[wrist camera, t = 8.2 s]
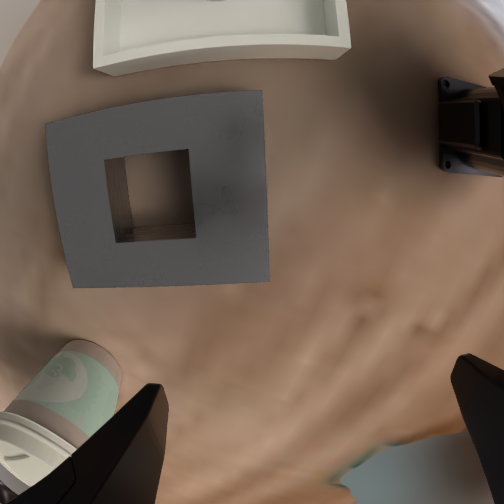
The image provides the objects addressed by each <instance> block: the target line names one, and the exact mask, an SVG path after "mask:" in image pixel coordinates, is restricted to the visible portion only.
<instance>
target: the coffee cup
mask: <svg viewBox="0 0 504 504" xmlns="http://www.w3.org/2000/svg"><path fill="white" fill-rule="evenodd" d="M121 382H122V372H121V369H120V366H119V365H118V363H117V361H116V360H115V359H114V358H113V356H112V355H111V354H110V353H108V352H107V351H106V350H105V349H103V348H102V347H100V346H99V345H97V344H95V343H92V342H89V341H86V340H73V341H70V342H68V343H67V344H66V345H65V346H64V347H63V348H62V349H61V350H60V351H59V352H58V353H57V354H56V355H55V356H54V357H53V358H52V359H51V360H50V361H49V362H48V363H47V364H46V366H45V367H44V368H43V369H42V370H41V371H40V372H39V373H38V374H37V375H36V376H35V377H34V378H33V379H32V380H31V382H30V383H29V384H28V385H27V386H26V387H25V388H24V389H23V390H22V391H21V392H20V394H19V395H18V396H17V397H16V398H15V399H14V400H13V401H12V403H11V404H10V405H9V406H8V407H7V408H6V409H5V411H4V412H0V463H1V464H2V465H3V466H4V467H5V468H6V469H7V470H9V471H10V472H11V473H12V474H13V475H14V476H16V477H17V478H18V479H20V480H21V481H22V482H24V483H25V484H27V485H28V486H30V487H31V486H33V485H34V484H36V483H37V482H39V481H40V480H41V479H43V478H44V477H45V476H47V475H48V474H49V473H51V472H52V471H53V470H54V469H55V468H56V467H58V466H59V465H60V464H61V463H62V462H63V461H64V460H66V459H67V458H68V457H69V456H71V454H72V453H73V452H74V451H76V450H77V449H78V448H79V447H80V446H81V445H82V444H83V443H84V442H85V441H86V440H88V439H89V438H90V437H91V436H92V435H93V434H94V433H95V432H96V431H97V430H98V429H99V428H101V427H102V426H103V425H104V424H105V423H106V422H107V421H108V420H109V419H110V418H111V417H112V416H113V415H114V411H115V407H116V403H117V398H118V394H119V390H120V386H121Z"/></svg>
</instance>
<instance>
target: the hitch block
mask: <svg viewBox="0 0 504 504" xmlns="http://www.w3.org/2000/svg"><path fill="white" fill-rule="evenodd" d="M45 130H46V143H47V154H48V163H49V172H50V179H51V186H52V193H53V199H54V205H55V211H56V217H57V222H58V227H59V232H60V237H61V241H62V246H63V250H64V255H65V259H66V263H67V267H68V271H69V275H70V278H71V282H72V286H73V288H117V287H156V286H186V285H211V284H234V283H254V282H270V275H269V243H268V214H267V188H266V163H265V141H264V120H263V99H262V90H249V91H231V92H218V93H206V94H196V95H187V96H179V97H171V98H164V99H157V100H151V101H144V102H138V103H133V104H127V105H122V106H117V107H112V108H107V109H103V110H98V111H94V112H89V113H85V114H81V115H77V116H73V117H69V118H65V119H62V120H58V121H55V122H51V123H48V124H45ZM182 149H189V162H190V174H191V186H192V197H193V208H194V218H195V223H188V224H173V225H159V226H146V227H133V224H132V218H131V211H130V203H129V196H128V188H127V179H126V170H125V161H124V157H126V156H133V155H140V154H147V153H155V152H164V151H173V150H182Z"/></svg>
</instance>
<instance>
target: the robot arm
mask: <svg viewBox="0 0 504 504" xmlns="http://www.w3.org/2000/svg"><path fill="white" fill-rule="evenodd" d="M489 78H490V81H491V83H492V85H494V86H495V87H493V88H486V87H482V86H479V85H475V84H472V83H468V82H465V81H461V80H457V79H453V78H449V77H441V78H439V80H438V92H439V105H438V108H439V140H440V158H439V165H440V168H441V170H442V171H445V172H452V173H464V174H475V175H485V176H495V177H503V176H504V68H503V69H501V70H499V71H497V72H495V73H493V74H490V75H489ZM444 81H445V82H446V85H447V86H446V87H445V85H444ZM446 162H448V166H447V167H446V166H445V163H446ZM451 383H452V386H453V389H454V392H455V395H456V398H457V401H458V404H459V407H460V410H461V414H462V417H463V419H464V422H465V424H466V427H467V429H468V431H469V434H470V436H471V439H472V441H473V444H474V446H475V449H476V451H477V454H478V457H479V459H480V462H481V464H482V467H483V470H484V473H485V476H486V479H487V481H488V485H489V488H490V491H491V494H492V497H493V500H494V503H495V504H504V370H502V369H500V368H498V367H496V366H494V365H492V364H490V363H488V362H486V361H484V360H482V359H480V358H478V357H476V356H474V355H472V354H469V353H468V354H464V355H460V356H459V357H458V358H457V360H456V363H455V366H454V368H453V371H452V373H451ZM168 412H169V406H168V401H167V398H166V394H165V391H164V388H163V386H162V385H161V384H155V383H148V384H146V385H145V386H144V387H143V388H142V389H141V390H140V391H139V392H138V393H137V394H136V395H135V396H134V397H133V398H132V399H130V400H129V401H128V402H127V403H126V404H125V405H124V406H123V407H122V408H121V409H120V410H119V411H118V412H117V413H116V414H114V415H113V416H112V417H111V418H110V419H109V420H108V421H107V422H106V423H105V424H104V425H103V426H102V427H101V428H99V429H98V430H97V431H96V432H95V433H94V434H93V435H92V436H91V437H90V438H89V439H88V440H86V441H85V442H84V443H83V444H82V445H81V446H80V447H79V448H78V449H77V450H76V451H74V452H73V453H72V454H71V456H69V457H68V458H67V459H66V460H64V461H63V462H62V463H61V464H60V465H59V466H58V467H56V468H55V469H54V470H53V471H52V472H51V473H49V474H48V475H47V476H45V477H44V478H43V479H41V480H40V481H39V482H37V483H36V484H34V485H33V486H31V487H30V488H29V489H27V490H26V491H24V492H23V493H21V494H20V495H18V496H17V497H15V498H14V499H12V500H11V501H9V502H7V503H6V504H155V499H156V494H157V489H158V484H159V480H160V475H161V470H162V465H163V460H164V455H165V445H166V433H167V422H168Z"/></svg>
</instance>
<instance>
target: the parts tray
mask: <svg viewBox="0 0 504 504" xmlns="http://www.w3.org/2000/svg"><path fill="white" fill-rule="evenodd" d="M349 49H351V39H350V29H349V20H348V12H347V5H346V0H224V1H208V0H96V5H95V19H94V41H93V69H95V70H98V71H101V72H103V73H106V74H109V75H112V76H114V77H116V76H120V75H125V74H130V73H135V72H140V71H146V70H151V69H157V68H163V67H170V66H177V65H184V64H192V63H201V62H212V61H224V60H239V59H264V58H299V59H324V60H336V59H338V58H339V57H340V56H342V55H343V54H344V53H345V52H347V51H348V50H349Z"/></svg>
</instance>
